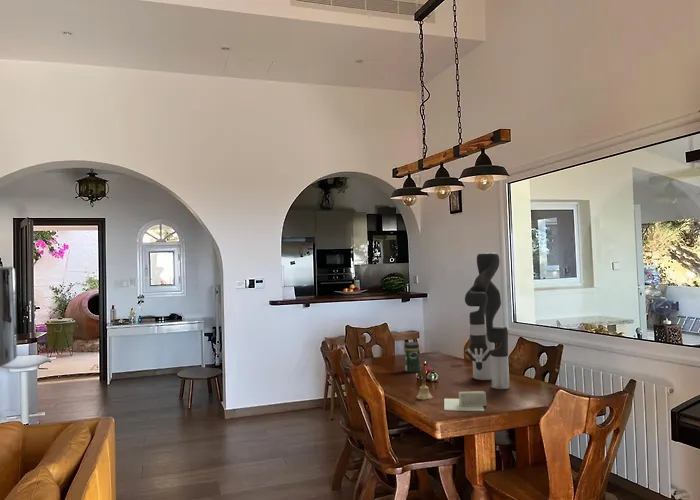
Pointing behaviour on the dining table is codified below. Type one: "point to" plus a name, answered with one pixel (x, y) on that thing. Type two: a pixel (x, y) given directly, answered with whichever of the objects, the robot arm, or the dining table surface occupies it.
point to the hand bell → (424, 387)
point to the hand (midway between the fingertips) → (479, 369)
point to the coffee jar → (412, 357)
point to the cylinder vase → (483, 365)
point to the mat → (454, 406)
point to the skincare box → (472, 398)
